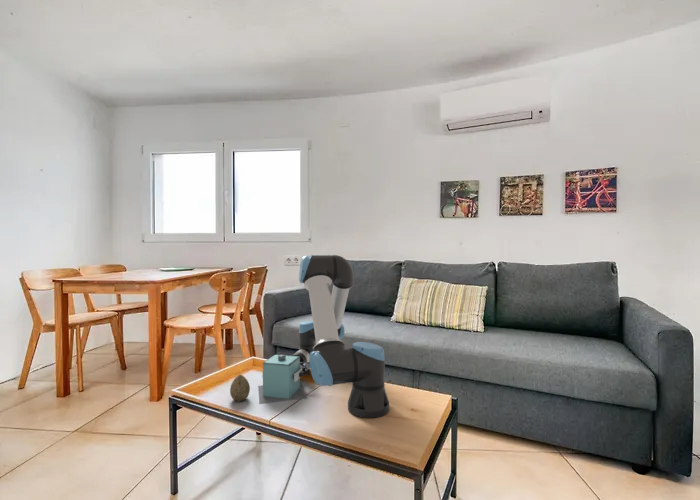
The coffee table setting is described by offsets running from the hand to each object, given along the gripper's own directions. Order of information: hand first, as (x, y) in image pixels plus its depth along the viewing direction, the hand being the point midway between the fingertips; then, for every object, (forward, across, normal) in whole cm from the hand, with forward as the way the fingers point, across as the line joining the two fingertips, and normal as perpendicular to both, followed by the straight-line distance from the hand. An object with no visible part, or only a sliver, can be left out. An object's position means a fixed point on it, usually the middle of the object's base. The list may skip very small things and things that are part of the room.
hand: (278, 376), depth 135 cm
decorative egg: (+8, +12, -8) cm, 17 cm away
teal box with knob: (-2, 0, -7) cm, 7 cm away
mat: (-2, 0, -7) cm, 8 cm away
